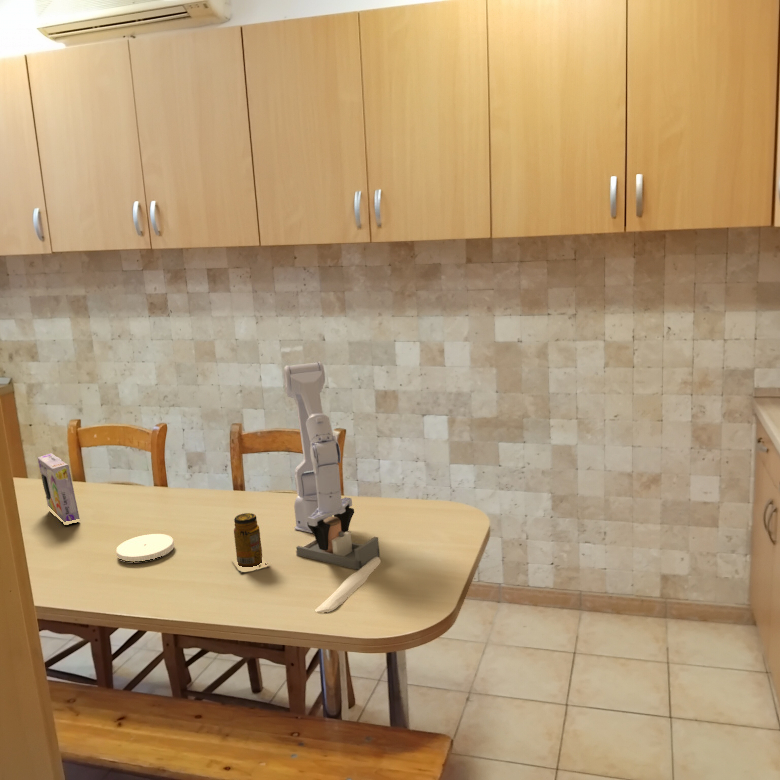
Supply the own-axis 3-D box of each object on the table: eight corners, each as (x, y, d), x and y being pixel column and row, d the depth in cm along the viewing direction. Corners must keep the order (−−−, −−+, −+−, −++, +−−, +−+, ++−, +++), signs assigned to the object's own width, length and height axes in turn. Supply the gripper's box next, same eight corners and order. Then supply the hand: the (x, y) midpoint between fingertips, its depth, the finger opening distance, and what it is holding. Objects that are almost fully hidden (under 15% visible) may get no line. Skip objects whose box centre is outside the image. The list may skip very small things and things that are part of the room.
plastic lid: (180, 556, 200) (179, 546, 199) (123, 571, 193) (122, 561, 193) (167, 538, 212) (165, 529, 211) (112, 552, 205) (111, 543, 205)
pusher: (333, 559, 190) (331, 536, 188) (348, 550, 194) (346, 527, 193) (337, 560, 189) (335, 536, 188) (352, 551, 194) (350, 528, 192)
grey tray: (296, 555, 195) (294, 536, 194) (317, 542, 201) (315, 524, 200) (359, 570, 184) (357, 550, 183) (379, 556, 191) (378, 537, 189)
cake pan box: (45, 511, 239) (36, 454, 235) (63, 506, 242) (53, 450, 238) (63, 528, 224) (52, 468, 220) (81, 523, 226) (71, 464, 223)
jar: (318, 555, 193) (315, 521, 191) (332, 547, 197) (329, 514, 195) (334, 559, 190) (331, 525, 188) (347, 551, 194) (344, 518, 192)
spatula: (373, 558, 191) (373, 548, 190) (388, 562, 189) (389, 553, 188) (312, 615, 166) (312, 605, 166) (329, 621, 165) (329, 611, 164)
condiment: (260, 554, 197) (255, 509, 194) (270, 567, 189) (265, 519, 187) (231, 562, 194) (225, 515, 191) (240, 575, 186) (235, 527, 184)
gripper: (322, 502, 181) (327, 558, 184) (360, 482, 193) (364, 535, 196) (299, 498, 185) (304, 552, 188) (337, 479, 197) (341, 530, 200)
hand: (333, 543), depth 192 cm, fingers open, 7 cm apart
